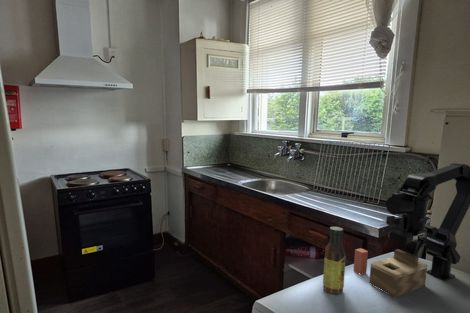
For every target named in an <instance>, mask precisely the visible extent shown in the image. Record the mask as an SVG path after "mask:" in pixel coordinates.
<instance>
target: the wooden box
mask: <svg viewBox="0 0 470 313" xmlns="http://www.w3.org/2000/svg"><path fill="white" fill-rule="evenodd" d="M386 267H387V268H389V269H391V270H396V268H393V267H391V266H386ZM427 271H428V267H427V268H426V269H423V270H420V271H417V272H414V273H411V274H408V275H405V276H402V277H399V278H394V277H392V276H390V275H388V274H386V273H384V272H382V271H380V270H378V269H376V268H374V267H372V266H371V265H370V271H369V280H368V281H369V283H371V284H372V285H371V284H370V285H371V286H373V285H374V286H376V287H378V288H380V289H382V290H383V291H382V290H381V291H382V292H384V291H385V292H387V293H389V294H390V295H389V294H388V295H389V296H391V295H392V296H391V297H393V298H397V297H399V296H402V294H403V295H405V294H407V292H408V293H411V292H413V291H416V290H418V289H421V288H423V287H426V280H427V274H428V273H427ZM369 283H368V284H369ZM374 286H373V287H374ZM376 287H375V288H376ZM378 288H377V289H378ZM380 289H379V290H380ZM385 292H384V293H385ZM387 293H386V294H387ZM404 293H405V294H404Z"/></svg>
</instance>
